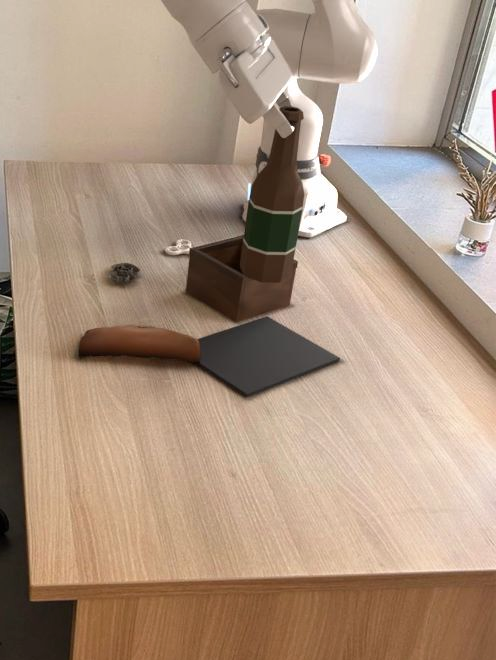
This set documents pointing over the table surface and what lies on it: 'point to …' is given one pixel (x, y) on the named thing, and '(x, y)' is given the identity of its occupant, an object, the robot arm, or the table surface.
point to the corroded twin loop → (123, 273)
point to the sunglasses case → (139, 343)
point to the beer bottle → (275, 210)
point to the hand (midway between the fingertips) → (292, 129)
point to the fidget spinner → (179, 247)
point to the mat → (260, 356)
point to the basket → (233, 282)
